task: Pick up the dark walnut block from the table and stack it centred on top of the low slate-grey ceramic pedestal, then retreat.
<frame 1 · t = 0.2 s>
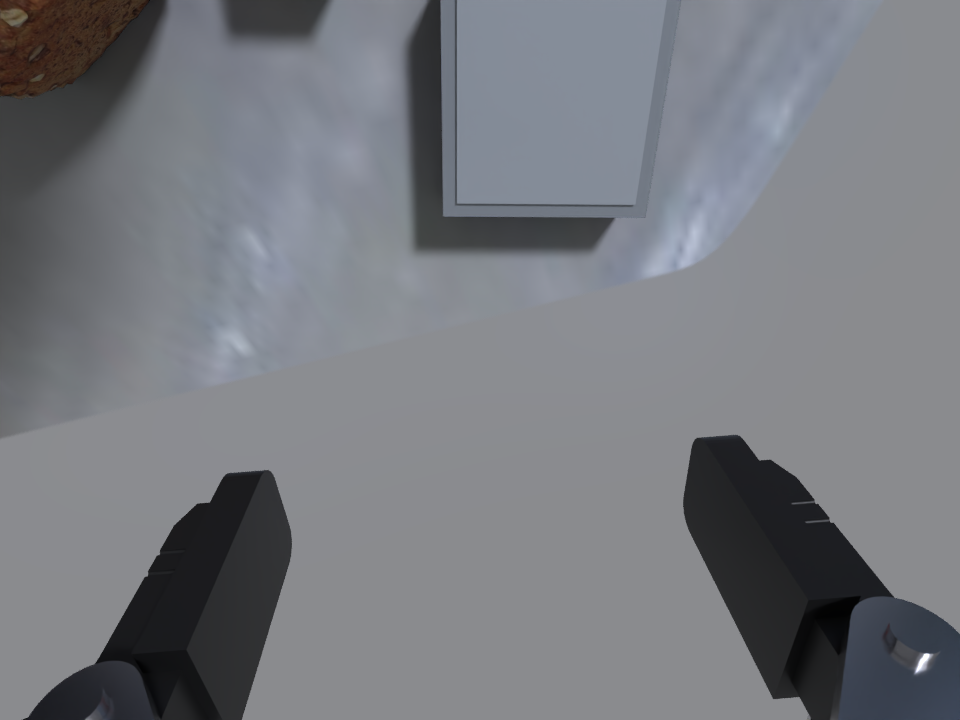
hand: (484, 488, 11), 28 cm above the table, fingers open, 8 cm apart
pedestal: (542, 99, 33), on the table
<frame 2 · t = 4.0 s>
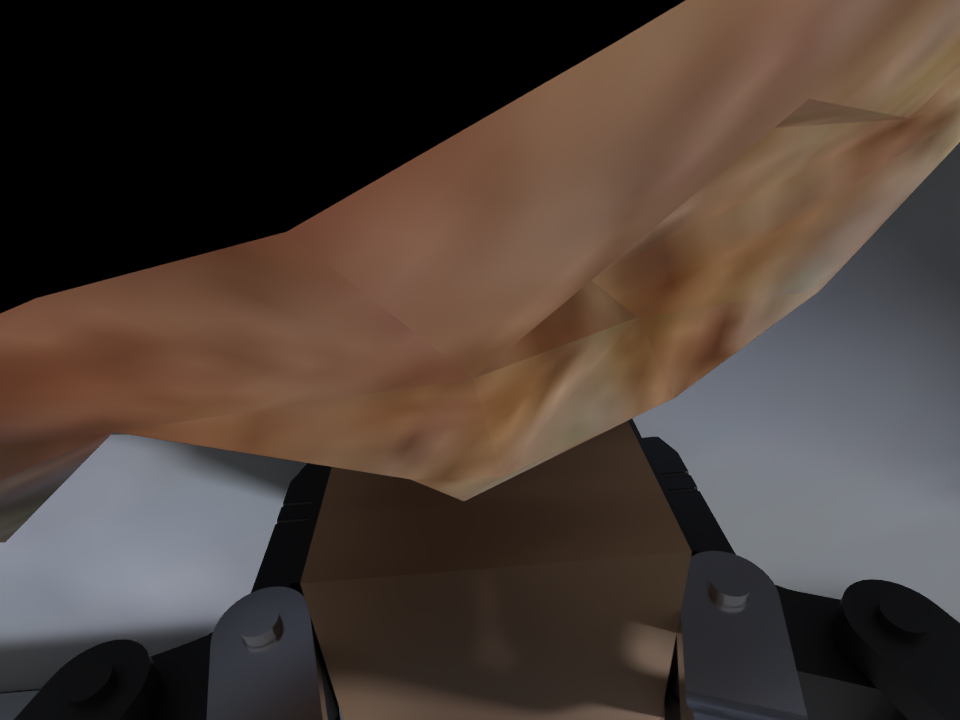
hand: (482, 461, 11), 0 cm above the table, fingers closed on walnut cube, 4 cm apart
walnut cube: (482, 448, 12), on the table, touching gripper
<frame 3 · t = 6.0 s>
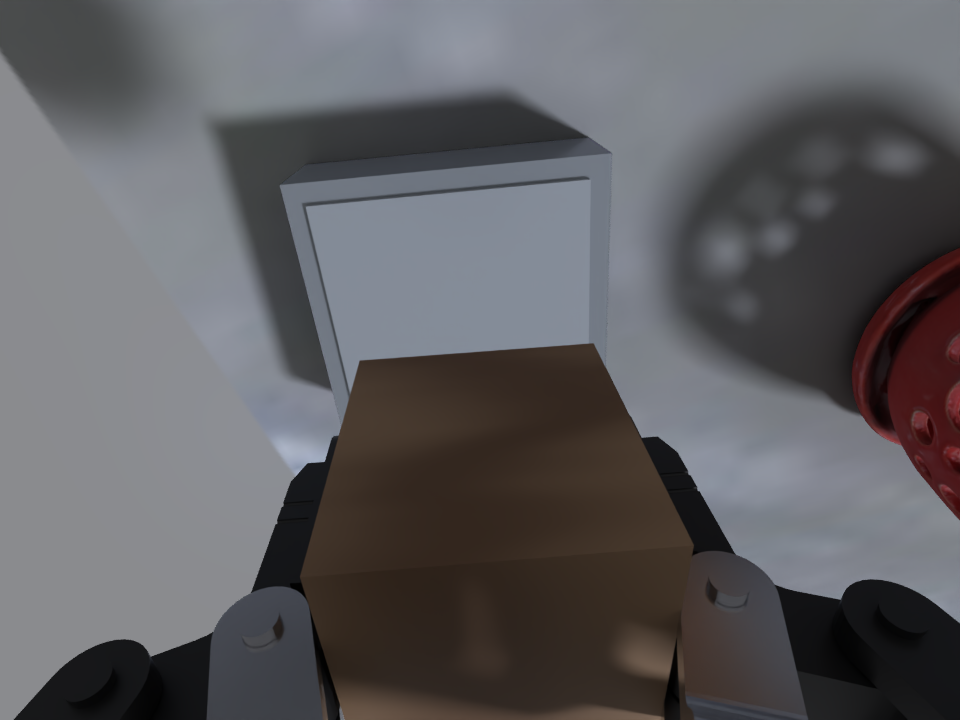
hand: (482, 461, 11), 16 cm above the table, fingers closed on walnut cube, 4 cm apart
walnut cube: (483, 444, 12), point 15 cm above the table, touching gripper
pedestal: (461, 283, 26), on the table
plant pot: (952, 327, 29), on the table
when the fingers open (5 cm above the table, at t = 7.9 s): walnut cube stays where it is, resting on pedestal.
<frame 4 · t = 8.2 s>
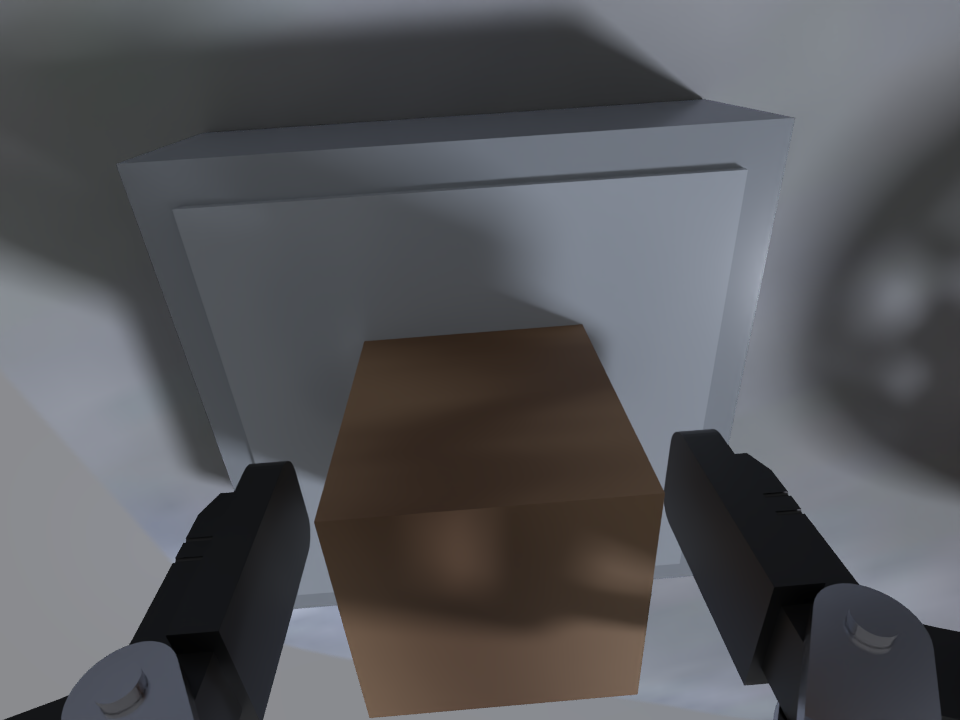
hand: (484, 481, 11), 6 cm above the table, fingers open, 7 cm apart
walnut cube: (480, 421, 13), point 4 cm above the table, touching pedestal
pedestal: (471, 339, 16), on the table
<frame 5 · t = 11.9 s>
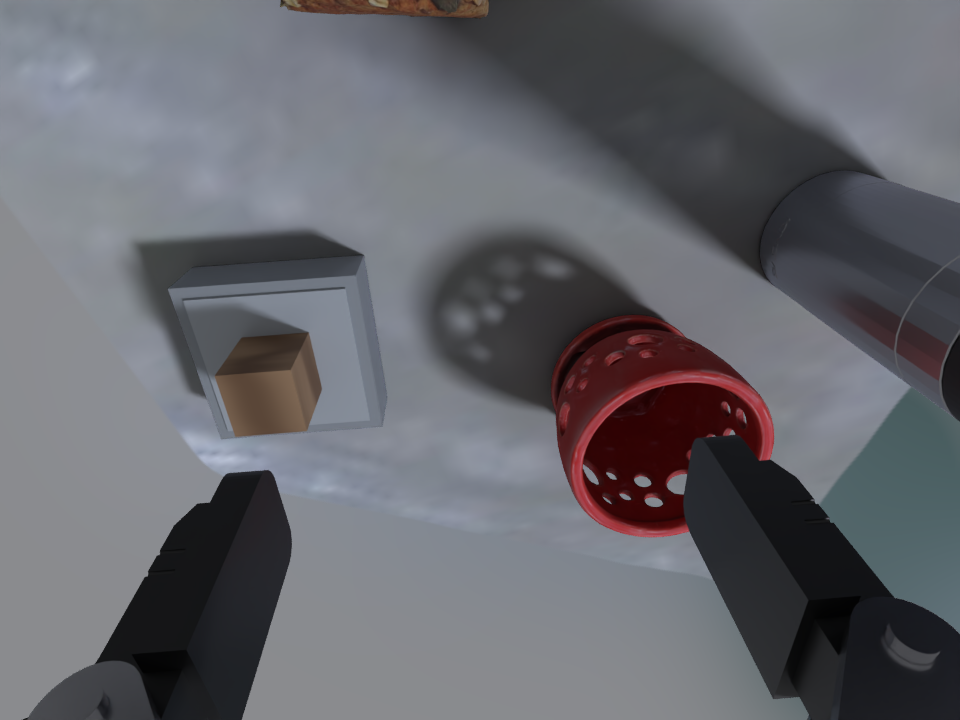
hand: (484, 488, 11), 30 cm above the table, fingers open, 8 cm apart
walnut cube: (283, 364, 38), point 4 cm above the table, touching pedestal
pedestal: (297, 337, 42), on the table
plant pot: (620, 367, 45), on the table
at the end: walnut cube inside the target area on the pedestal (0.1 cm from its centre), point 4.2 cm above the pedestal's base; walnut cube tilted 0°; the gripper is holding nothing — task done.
